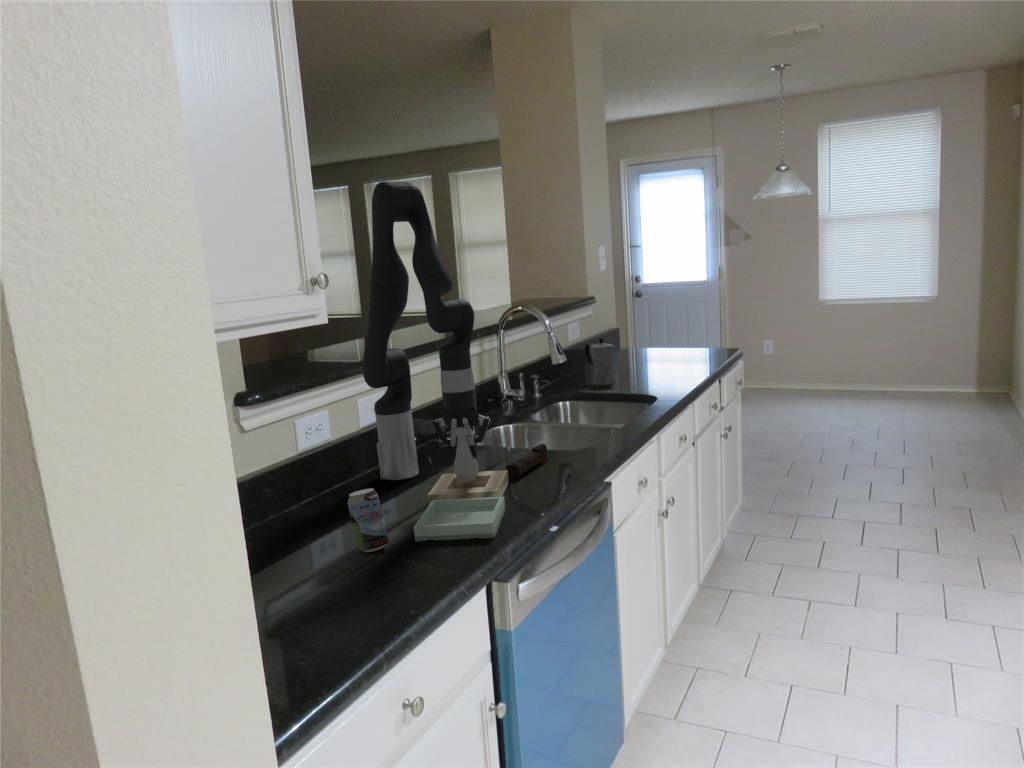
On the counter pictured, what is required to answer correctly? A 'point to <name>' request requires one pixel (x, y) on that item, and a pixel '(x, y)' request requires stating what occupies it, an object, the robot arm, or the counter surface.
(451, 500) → the parts tray
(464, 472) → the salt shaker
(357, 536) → the beverage can
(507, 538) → the counter surface
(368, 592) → the counter surface
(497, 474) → the holder
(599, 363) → the coffeepot
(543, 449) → the hand tool
